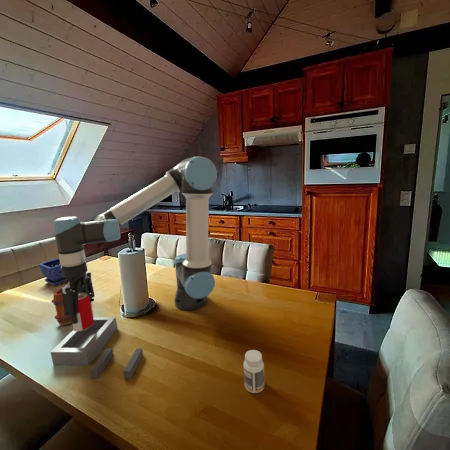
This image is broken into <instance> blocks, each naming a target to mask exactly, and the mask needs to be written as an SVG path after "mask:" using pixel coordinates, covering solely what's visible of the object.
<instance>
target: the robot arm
mask: <svg viewBox="0 0 450 450" xmlns="http://www.w3.org/2000/svg"><path fill="white" fill-rule="evenodd" d="M217 177H218V172H217V167H216V166H215V164H214V162H213V161H212V160H210V159H209V158H207V157H204V156H199V155H198V156H192V157H187V158H185V159H183V160H181V161H180V162H179V163H178V164H175V166H174V167H172V168H170V169H169V170H168V171H166V172H165V175H164V176H163V177H161V178H159V179H157V180H155V181H154V182H152V183H151V184H149V185H148V186H146V187H144V188H143V189H140V190H139V191H137V192H136V193H134V194H133V195H130V196H129V197H128V198H126V199H124V200H122V201H121V202H119V203H117V204H116V205H114V206H112V207H111V208H110V209H108V210H106V211H104V212H102V213H99V214H98V215H96V216H95V217H94V218H93V220H92V221H81V220H80V218H79V216H62V217H59V218H56V219H55V220H54V221H53V223H52V224H53V235H54V238H55V244H56V248H57V253H58V258H59V260H60V264H59V265H62V266H61V272H62V276H63V277H65V278H66V282H65V286H64V287H60V288H59V290H60V292H61V294H62V299H63V307H64V314H65V316H70V317H71V322H72V323H71V324H72V330H74V331H82V330H83V329H82V323H81V317H80V313H78V294H79V293H81V292H82V293H84V292H85V293H87V295H88V296H89V297H90V302H91V308H92V309H93V302H94V301H95V291H94V285H93V281H92V272H91V271H90V272H88V266H87V262H86V260H87V257H86V253H85V247H84V245H93V244H99V243H100V244H101V243H111V242H115V241H118V240H120V239H121V229H120V227H121V226H122V225H124V224H126V223H127V222H129V221H130V220H132V219H134V218H135V217H137V216H138V215H140V214H142V213H143V212H145V211H146V210H148V209H150V208H152V207H153V206H155V205H156V204H158V203H160V202H161V201H163V200H164V199H166V198H168V197H169V196H171V195H172V194H174V193H181V195H183V196H184V197H185V239H186V240H185V247H186V249H185V252H186V253H181V254H179V255H176V256H175V258H174V267H175V275H176V276H175V277H176V287H177V288H176V293H175V296H174V305H175V308H177V309H179V310H182V311H194V310H199V309H200V308H203V307H204V306H206V305H207V303H208V298H209V297H208V296H209V295H210V294H211V293H212V292H213V291H214V289H215V285H216V280H215V277H214V275H213V274H212V271H213V270H212V269H213V267H212V264H213V263H212V260H211V259H210V258H209V212H210V211H209V206H210V205H209V204H210V203H209V202H210V200H209V199H210V197H211V196H212V195H214V194H213V193H214V192H213V191H214V188H213V187H214V185H215V183H216V181H217ZM93 312H94V311H93V310H92V314H93V315H94V313H93ZM94 317H95V316H93V319H94Z"/></svg>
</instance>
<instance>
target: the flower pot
mask: <svg viewBox="0 0 450 450" xmlns="http://www.w3.org/2000/svg"><path fill="white" fill-rule="evenodd" d="M61 266H62V265H61V264H60V260H59V257H58V258H55V259H50V260H48V261H45V262H42V263H39V268H40V271H41V273H42V275H43V276H44V277H45V279H44V282H46V283H48V284H51V285H52V286H54V287H55V286H59V285H61V284H64V283H65V284H66V278H65V277H63V276H62V272H61Z"/></svg>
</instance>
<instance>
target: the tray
mask: <svg viewBox="0 0 450 450" xmlns="http://www.w3.org/2000/svg"><path fill="white" fill-rule="evenodd" d="M93 317H94V319H93V320H94V323H93V325H92V326H91V327H90V328H88V329H86V330H82V331H74V329H72V331H70V332H69V334H67V335H66V336H65V337H64V338H63V339H62V340H60V342H59V343H58V344H57V345H56V346H55V347H54V348H53V349H51V351H50V355H51V361H52V364H53V366H77V367H78V366H81V367H82V366H85V367H86V366H90V365H91V363H92V362H93V361H94V359H95V358H96V357H97V355H98V354H99V353H100V351H101V350H102V349H103V347H104V346H105V345H106V343H107V342H108V341H109V340H110V338H112V336H113V335H114V333H115V332H116V331H117V330H118V323H117V317H116V316H93Z"/></svg>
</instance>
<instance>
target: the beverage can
mask: <svg viewBox="0 0 450 450" xmlns="http://www.w3.org/2000/svg"><path fill="white" fill-rule="evenodd" d="M91 303H92V302H90V297H89V296H88V295H87V293H85V292H84V293H82V292H81V293H79V294H78V313H80V317H81V323H82V329H83V330H86V329H88V328H90V327H91V326H92V325H93V323H94V320H93V317H94V313H93V314H92V311H93V307H92V308H91Z"/></svg>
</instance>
